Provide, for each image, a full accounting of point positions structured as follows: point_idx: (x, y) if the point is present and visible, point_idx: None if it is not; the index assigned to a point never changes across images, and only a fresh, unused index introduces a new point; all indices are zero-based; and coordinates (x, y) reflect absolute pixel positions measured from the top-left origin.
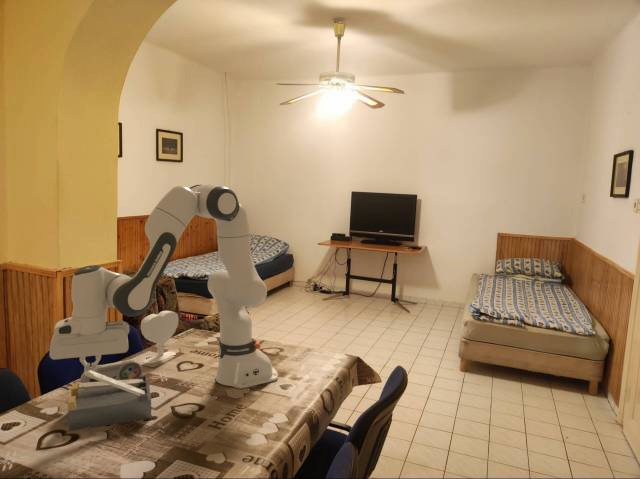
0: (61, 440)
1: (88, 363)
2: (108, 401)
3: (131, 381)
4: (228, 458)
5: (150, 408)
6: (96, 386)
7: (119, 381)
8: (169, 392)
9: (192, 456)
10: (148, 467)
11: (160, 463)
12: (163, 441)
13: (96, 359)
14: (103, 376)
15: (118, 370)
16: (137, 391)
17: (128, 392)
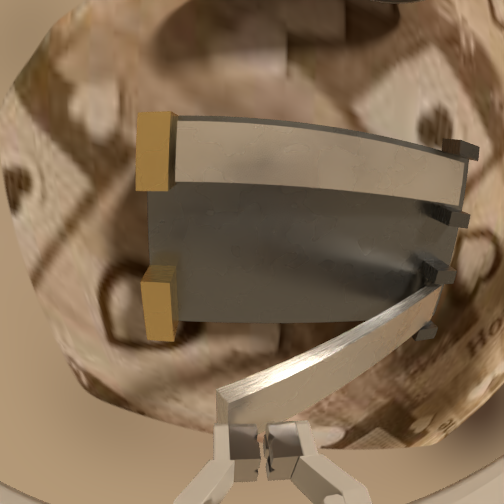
0: None
1: (246, 465)
2: (309, 291)
3: (429, 178)
4: (430, 425)
5: None
6: (271, 184)
7: (389, 322)
8: (473, 138)
9: (398, 422)
10: (331, 439)
11: (351, 433)
12: (383, 384)
13: (317, 475)
14: (326, 372)
15: None
16: (419, 325)
17: (394, 231)
